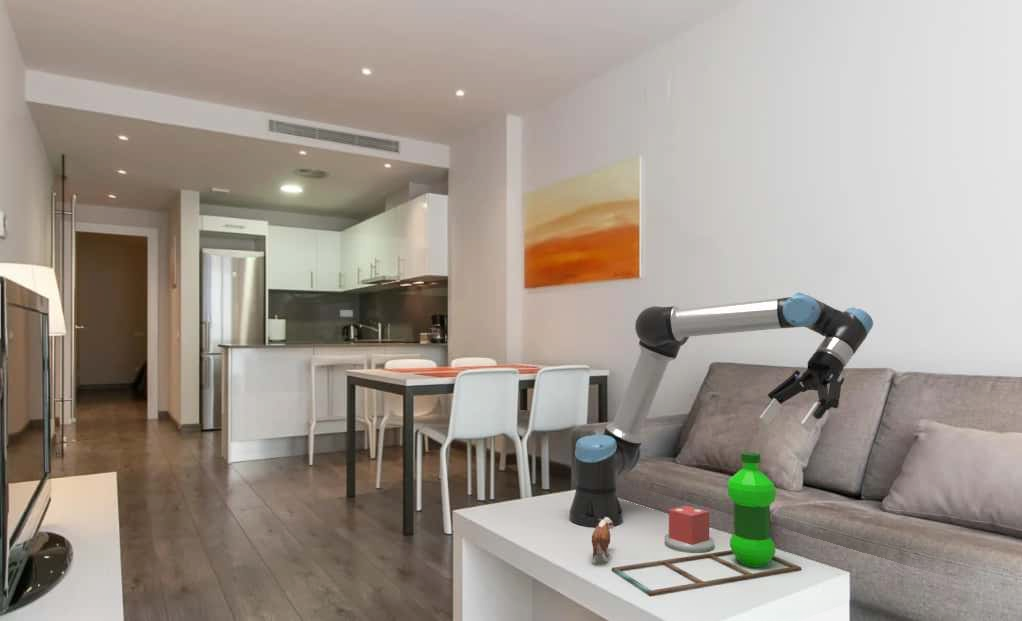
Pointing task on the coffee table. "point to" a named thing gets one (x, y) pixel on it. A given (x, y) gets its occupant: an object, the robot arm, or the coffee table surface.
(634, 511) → the coffee table surface
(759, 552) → the plastic bottle
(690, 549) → the red die stand
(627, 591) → the coffee table surface
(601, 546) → the bull figurine
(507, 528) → the coffee table surface
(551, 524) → the coffee table surface
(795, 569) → the walnut frame
